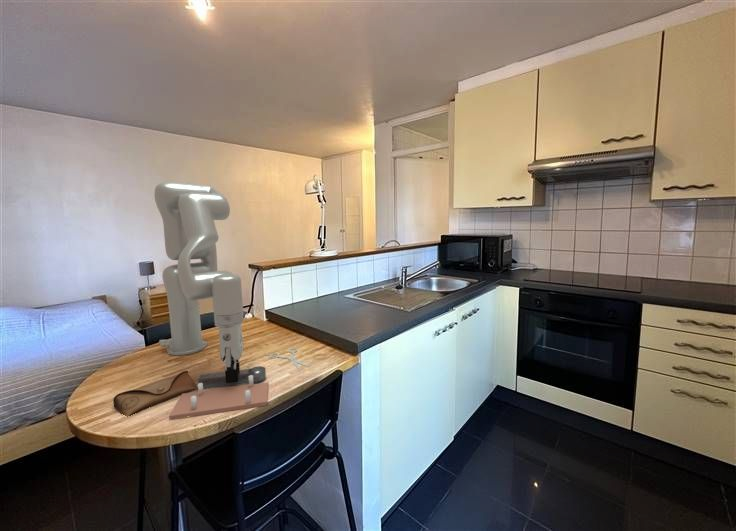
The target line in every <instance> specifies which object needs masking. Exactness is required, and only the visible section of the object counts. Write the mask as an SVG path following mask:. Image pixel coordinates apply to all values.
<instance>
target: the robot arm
mask: <svg viewBox="0 0 736 531" xmlns="http://www.w3.org/2000/svg"><path fill="white" fill-rule="evenodd" d="M154 201H155V204H156V207H157V209H158V212H159V214H160V216H161V218H162V223H163V238H164V248H165V249H164V250H165V253H166V256H167V257H168V259H169V260H172V261H177V263H176V264H172V265H169V266H167V267H166V268H164V269H163V271H162V281H163V285H164V288H165V292H166V297H167V298H166V299H167V306H168V313H169V325H170V326H169V327H170V335H171V336H170V337H171V338H168V339H159V341H158V345H159V346H160V348H161V347H168V348H167V350H166V351H167V354H169V355H171V356H187V355H191V354H194V353H198V352H201V351H202V350H204V349H205V348H206V347H207V345H208V343H207V341H206V340H205V339H203V338H202V337H203V336H202V325H201V324H202V322H201V312H200V303H199V301H200V300H205V299H212V307H213V321H214V326H215V327H217V328H218V342H219V344H218V345H219V357H220V361H221V362H223V363H224V372H225V376H226V383H234V382H238V370H241V369H240V362H239V360H241V357H242V354H243V351H244V341H243V330H242V324H243V323H244V322H245V320H244V304H243V289H242V279H241V276H240V275H238V274H235V273H232V272H231V271H230V270H218V260H217V259H218V255H217V254H218V253H217V244H216V243H217V242H218V241H219V235H218V230H217V227H216V224H215V221H224V220H227V219H228V218H229V216H230V213H231V208H230V204H229V201H228V199H227V198H226V197H225V195H224V194H223V193H222V192H220V191H219V190H217V188H215V187H213V186H211V185H207V184H199V183H189V182H187V183H186V182H175V181H167V182H160V183H158V184H157V185H156V186H155V188H154ZM191 260H200V262H191Z"/></svg>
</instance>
